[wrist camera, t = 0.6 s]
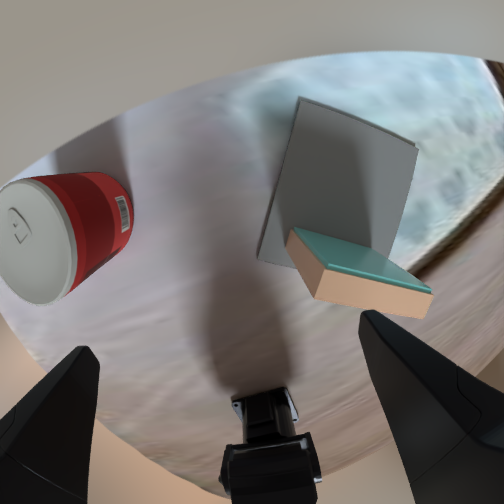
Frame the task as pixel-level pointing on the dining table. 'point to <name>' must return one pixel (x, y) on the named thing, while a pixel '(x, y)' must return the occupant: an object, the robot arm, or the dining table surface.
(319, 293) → the tile
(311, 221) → the mat
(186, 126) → the dining table surface
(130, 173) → the dining table surface
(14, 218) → the canned food
